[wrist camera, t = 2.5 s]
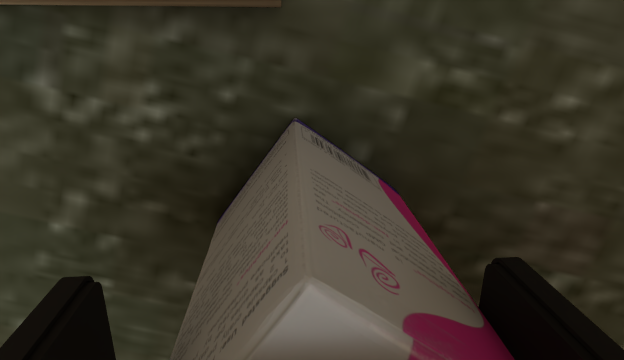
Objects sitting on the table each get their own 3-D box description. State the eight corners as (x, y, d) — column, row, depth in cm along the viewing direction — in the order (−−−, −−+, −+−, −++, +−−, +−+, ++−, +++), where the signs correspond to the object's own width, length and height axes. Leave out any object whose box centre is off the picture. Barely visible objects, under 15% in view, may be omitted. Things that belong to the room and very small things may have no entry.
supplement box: (212, 225, 17) (95, 524, 7) (294, 113, 16) (315, 256, 5) (320, 292, 19) (369, 629, 8) (403, 193, 18) (597, 436, 7)
